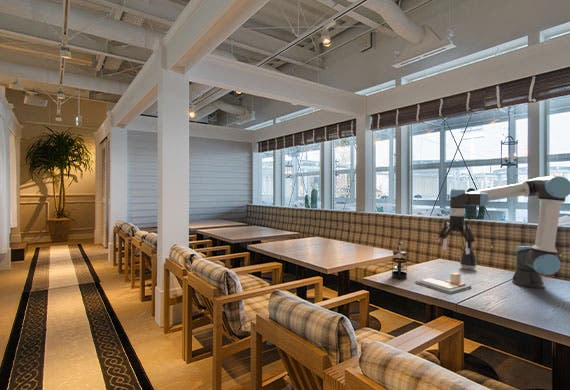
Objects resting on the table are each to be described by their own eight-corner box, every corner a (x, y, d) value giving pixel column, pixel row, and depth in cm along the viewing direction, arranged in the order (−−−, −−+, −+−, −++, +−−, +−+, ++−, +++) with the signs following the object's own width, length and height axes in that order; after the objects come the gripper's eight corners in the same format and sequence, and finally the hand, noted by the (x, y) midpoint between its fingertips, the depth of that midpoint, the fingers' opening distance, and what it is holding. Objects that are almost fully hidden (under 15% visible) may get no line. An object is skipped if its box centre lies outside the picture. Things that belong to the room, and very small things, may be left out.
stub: (465, 284, 186) (466, 274, 186) (459, 286, 183) (460, 276, 183) (451, 280, 194) (451, 271, 194) (445, 282, 191) (445, 272, 191)
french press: (407, 281, 199) (408, 244, 198) (391, 279, 202) (391, 243, 201) (406, 276, 210) (407, 240, 209) (391, 274, 213) (392, 240, 212)
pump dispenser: (456, 267, 233) (456, 246, 232) (469, 267, 234) (470, 246, 234) (465, 271, 223) (466, 249, 222) (479, 270, 224) (480, 249, 223)
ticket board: (471, 288, 186) (471, 284, 186) (450, 294, 176) (450, 289, 175) (436, 278, 205) (436, 274, 205) (415, 283, 194) (415, 279, 194)
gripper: (433, 213, 196) (432, 248, 197) (475, 217, 175) (474, 256, 176) (440, 213, 200) (440, 247, 201) (482, 217, 179) (481, 255, 179)
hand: (455, 251), depth 188 cm, fingers open, 13 cm apart
